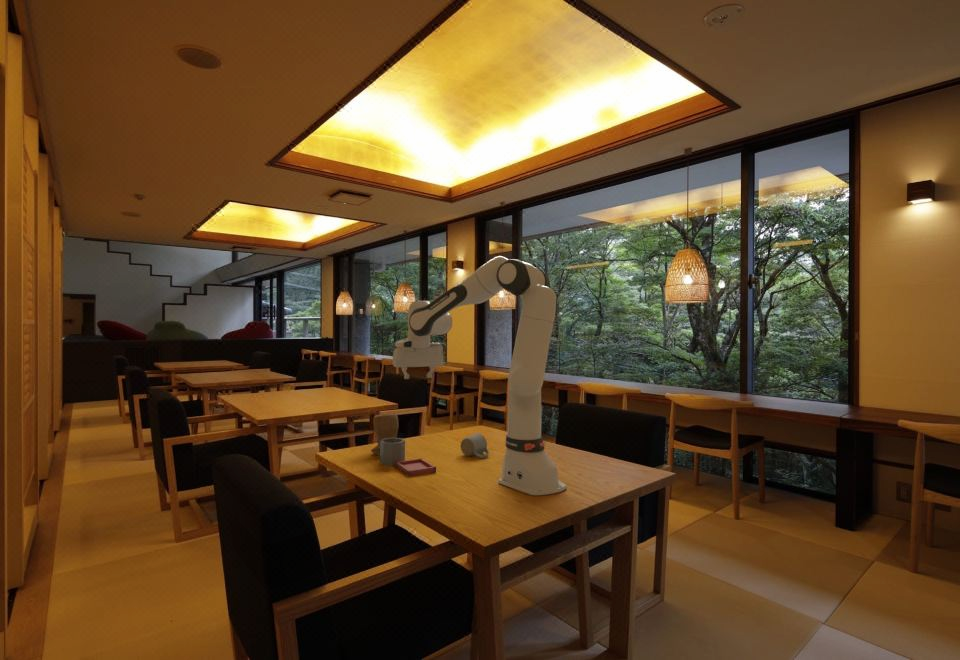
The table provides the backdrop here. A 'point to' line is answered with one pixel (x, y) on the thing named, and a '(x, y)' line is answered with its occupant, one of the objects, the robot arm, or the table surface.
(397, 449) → the deep cup
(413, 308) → the robot arm
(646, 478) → the table surface
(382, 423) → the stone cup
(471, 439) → the ceramic mug
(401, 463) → the lacquer tray
